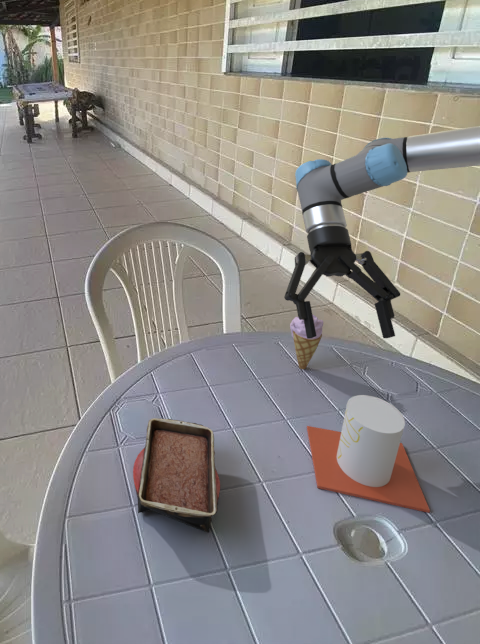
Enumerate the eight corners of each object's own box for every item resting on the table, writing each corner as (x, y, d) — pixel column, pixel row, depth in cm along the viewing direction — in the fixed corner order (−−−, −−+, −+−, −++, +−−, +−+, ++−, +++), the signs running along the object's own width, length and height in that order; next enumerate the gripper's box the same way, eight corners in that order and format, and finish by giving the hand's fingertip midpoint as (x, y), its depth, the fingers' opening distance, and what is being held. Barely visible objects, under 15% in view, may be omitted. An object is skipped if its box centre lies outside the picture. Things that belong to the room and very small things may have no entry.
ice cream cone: (286, 373, 97) (293, 318, 92) (284, 356, 103) (290, 303, 98) (318, 378, 95) (327, 322, 90) (314, 360, 101) (322, 306, 95)
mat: (401, 445, 78) (402, 443, 78) (429, 513, 67) (430, 510, 67) (306, 427, 83) (307, 425, 83) (317, 488, 72) (317, 485, 71)
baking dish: (222, 469, 78) (221, 421, 76) (218, 561, 62) (216, 503, 60) (146, 456, 83) (142, 411, 81) (123, 539, 66) (118, 484, 64)
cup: (337, 439, 80) (347, 389, 75) (389, 456, 76) (403, 405, 71) (335, 473, 73) (345, 421, 69) (391, 495, 69) (406, 440, 65)
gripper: (381, 236, 89) (410, 340, 80) (259, 239, 91) (274, 340, 82) (401, 222, 82) (435, 333, 73) (268, 225, 84) (286, 334, 76)
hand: (350, 337), depth 78 cm, fingers open, 13 cm apart
